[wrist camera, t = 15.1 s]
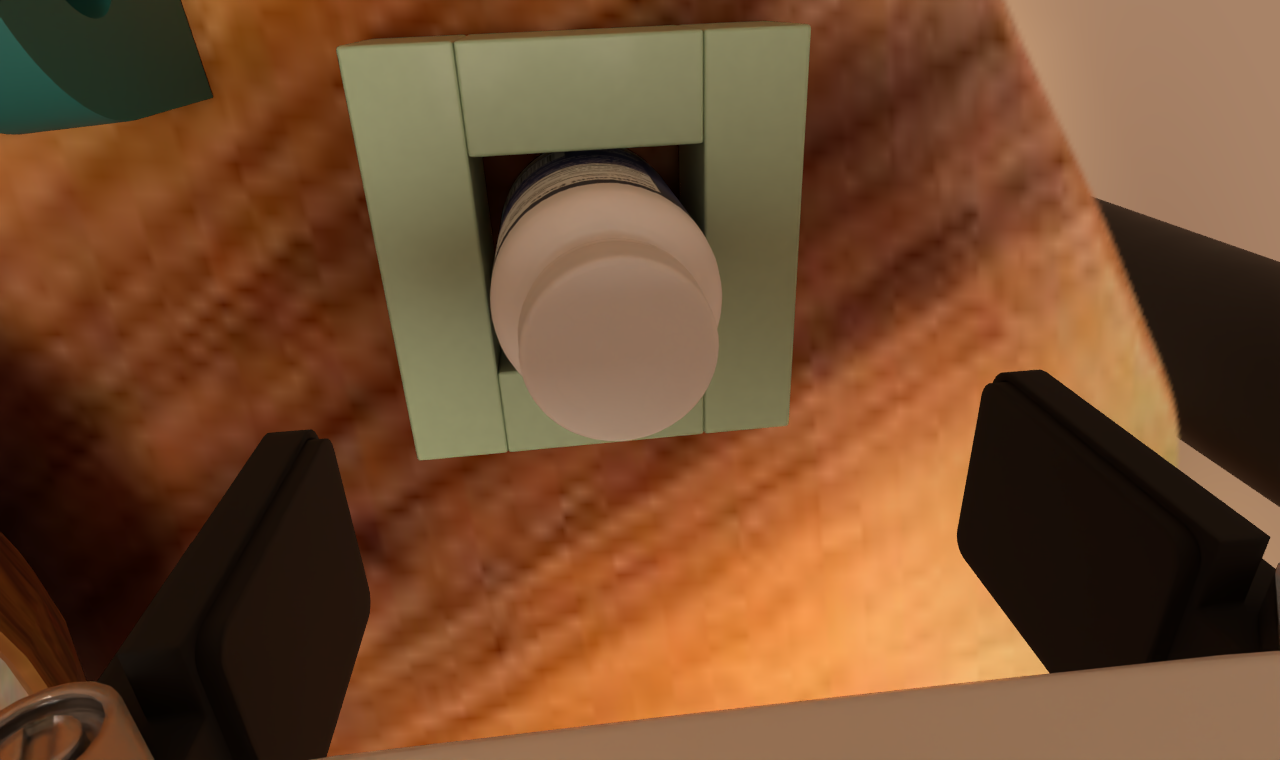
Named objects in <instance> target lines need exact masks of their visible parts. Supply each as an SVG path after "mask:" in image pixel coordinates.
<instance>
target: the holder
mask: <svg viewBox="0 0 1280 760" xmlns="http://www.w3.org/2000/svg"><path fill="white" fill-rule="evenodd" d="M810 36H811V27H810V25H808V24H799V23H786V22H773V21H751V22H729V23H707V24H685V25H679V26H677V25H664V26H642V27H620V28H598V29H576V30H554V31H532V32H510V33H489V34H470V35H468V36H466V35H445V36H423V37H401V38H379V39H369V40H365V41H360V42H355V43H350V44H346V45H341V46H338V47H337V50H336V51H337V56H338V61H339V67H340V72H341V77H342V82H343V87H344V92H345V97H346V102H347V107H348V112H349V117H350V122H351V127H352V132H353V137H354V142H355V147H356V152H357V157H358V162H359V167H360V172H361V177H362V182H363V187H364V192H365V197H366V202H367V207H368V212H369V217H370V222H371V227H372V232H373V237H374V242H375V247H376V252H377V257H378V262H379V267H380V272H381V277H382V282H383V287H384V292H385V298H386V303H387V308H388V313H389V318H390V323H391V328H392V333H393V338H394V343H395V348H396V353H397V358H398V363H399V368H400V373H401V378H402V383H403V388H404V393H405V398H406V403H407V408H408V413H409V418H410V423H411V428H412V433H413V438H414V443H415V448H416V453H417V458H418V459H419V460H430V459H441V458H451V457H462V456H472V455H483V454H494V453H504V452H507V451H508V450H509V451H510V452H514V451H525V450H535V449H546V448H557V447H567V446H578V445H588V444H599V443H609V442H620V441H604V440H596V439H591V438H588V437H584V436H581V435H578V434H575V433H573V432H571V431H569V430H567V429H565V428H563V427H562V426H560V425H559V424H557V423H556V422H554V421H553V420H552V419H551V418H549V417H548V416H547V415H546V414H545V413H544V412H543V411H542V410H541V408H540V407H539V406H538V405H537V404H536V402H535V401H534V400H533V398H532V396H531V395H530V393H529V391H528V389H527V387H526V385H525V383H524V380H523V377H522V376H521V375H520V374H519V373H518V371H517V370H516V369H515V367H514V366H513V365H512V364H511V362H510V361H509V360H508V358H507V356H506V355H505V353H504V351H503V349H502V347H501V345H500V343H499V340H498V337H497V334H496V332H495V328H494V324H493V321H492V315H491V308H490V288H491V279H492V270H493V264H494V259H495V252H494V244H493V236H492V228H491V221H490V213H489V205H488V197H487V189H486V181H485V173H484V166H483V158H482V157H484V156H501V155H518V154H534V153H551V152H568V151H584V150H601V149H618V148H634V147H651V146H668V145H679V186H680V203H681V204H682V205H683V207H684V208H685V209H686V211H687V212H688V213H689V215H690V216H691V217H692V219H693V220H694V221H695V223H696V224H697V225H698V227H699V228H700V230H701V231H702V233H703V234H704V236H705V238H706V239H707V241H708V243H709V245H710V247H711V249H712V252H713V254H714V256H715V258H716V262H717V265H718V270H719V275H720V280H721V287H722V306H721V315H720V320H719V324H718V328H717V331H718V336H719V351H718V359H717V364H716V368H715V372H714V374H713V377H712V379H711V382H710V384H709V386H708V388H707V390H706V391H705V393H704V395H703V396H702V397H701V399H700V400H699V401H698V403H697V404H696V405H695V406H694V407H693V408H692V409H691V410H690V411H689V412H688V413H687V414H686V415H685V416H684V417H683V418H681V419H680V420H678V421H677V422H675V423H674V424H673V425H671V426H669V427H667V428H665V429H663V430H662V431H660V432H657V433H655V434H652V435H650V436H646V437H642V438H638V439H633V440H641V439H652V438H662V437H673V436H683V435H694V434H702V433H703V431H704V432H705V433H715V432H726V431H736V430H747V429H757V428H768V427H778V426H787V425H788V423H789V406H790V388H791V371H792V353H793V335H794V318H795V300H796V283H797V265H798V247H799V230H800V212H801V194H802V177H803V159H804V142H805V124H806V106H807V89H808V71H809V54H810ZM626 441H630V440H626Z"/></svg>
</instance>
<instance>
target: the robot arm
mask: <svg viewBox="0 0 1280 760" xmlns="http://www.w3.org/2000/svg"><path fill="white" fill-rule="evenodd" d="M1269 539H1270V536H1268V535H1267V534H1265V533H1264V532H1263V531H1262V530H1260V529H1259V528H1257V527H1256V526H1255V525H1253V524H1252V523H1251V522H1249V521H1248V520H1247V519H1245V518H1244V517H1243V516H1241V515H1240V514H1238V513H1237V512H1236V511H1234V510H1233V509H1232V508H1230V507H1229V506H1228V505H1226V504H1225V503H1224V502H1222V501H1221V500H1219V499H1218V498H1217V497H1215V496H1214V495H1213V494H1211V493H1210V492H1209V491H1207V490H1206V489H1205V488H1203V487H1202V486H1200V485H1199V484H1198V483H1196V482H1195V481H1194V480H1192V479H1191V478H1190V477H1188V476H1187V475H1185V474H1184V473H1183V472H1181V471H1180V470H1179V469H1177V468H1176V467H1175V466H1173V465H1172V464H1171V463H1169V462H1168V461H1166V460H1165V459H1164V458H1162V457H1161V456H1160V455H1158V454H1157V453H1156V452H1154V451H1153V450H1152V449H1150V448H1149V447H1147V446H1146V445H1145V444H1143V443H1142V442H1141V441H1139V440H1138V439H1137V438H1135V437H1134V436H1133V435H1131V434H1130V433H1128V432H1127V431H1126V430H1124V429H1123V428H1122V427H1120V426H1119V425H1118V424H1116V423H1115V422H1113V421H1112V420H1111V419H1109V418H1108V417H1107V416H1105V415H1104V414H1103V413H1101V412H1100V411H1099V410H1097V409H1096V408H1094V407H1093V406H1092V405H1090V404H1089V403H1088V402H1086V401H1085V400H1084V399H1082V398H1081V397H1080V396H1078V395H1077V394H1075V393H1074V392H1073V391H1071V390H1070V389H1069V388H1067V387H1066V386H1065V385H1063V384H1062V383H1061V382H1059V381H1058V380H1056V379H1055V378H1054V377H1052V376H1051V375H1050V374H1048V373H1047V372H1045V371H1043V370H1029V371H1017V372H1005V373H1000V374H999V375H997V376H996V378H995V379H994V381H993V383H989V384H988V385H986V386H985V388H984V389H983V392H982V396H981V402H980V407H979V413H978V419H977V424H976V430H975V435H974V441H973V446H972V452H971V457H970V463H969V469H968V474H967V480H966V485H965V491H964V496H963V502H962V507H961V513H960V519H959V524H958V530H957V542H958V546H959V550H960V552H961V554H962V556H963V558H964V559H965V561H966V562H967V563H968V565H969V566H970V567H971V569H972V570H973V571H974V573H975V574H976V575H977V577H978V578H979V579H980V581H981V582H982V583H983V585H984V586H985V587H986V589H987V590H988V591H989V593H990V594H991V595H992V597H993V598H994V599H995V601H996V602H997V603H998V605H999V606H1000V607H1001V609H1002V610H1003V611H1004V613H1005V614H1006V615H1007V617H1008V618H1009V619H1010V621H1011V622H1012V623H1013V625H1014V626H1015V627H1016V629H1017V630H1018V631H1019V633H1020V634H1021V635H1022V637H1023V638H1024V639H1025V641H1026V642H1027V643H1028V645H1029V646H1030V647H1031V649H1032V650H1033V651H1034V653H1035V654H1036V655H1037V657H1038V658H1039V659H1040V661H1041V662H1042V663H1043V665H1044V666H1045V668H1046V669H1047V670H1048V672H1049V673H1050V674H1042V675H1032V676H1023V677H1014V678H1005V679H995V680H986V681H977V682H968V683H959V684H950V685H941V686H931V687H922V688H913V689H904V690H895V691H887V692H878V693H869V694H860V695H851V696H842V697H833V698H824V699H815V700H806V701H798V702H789V703H780V704H771V705H763V706H754V707H745V708H736V709H728V710H719V711H710V712H701V713H693V714H684V715H675V716H666V717H658V718H649V719H641V720H633V721H624V722H616V723H607V724H599V725H590V726H582V727H573V728H565V729H557V730H548V731H540V732H531V733H523V734H515V735H506V736H498V737H489V738H481V739H473V740H464V741H456V742H447V743H439V744H430V745H422V746H414V747H405V748H397V749H388V750H380V751H372V752H363V753H355V754H346V755H339V756H332V757H326V756H327V753H328V750H329V746H330V743H331V740H332V737H333V733H334V730H335V727H336V723H337V720H338V717H339V713H340V710H341V707H342V704H343V700H344V697H345V694H346V690H347V687H348V684H349V681H350V677H351V674H352V671H353V667H354V664H355V661H356V657H357V654H358V651H359V648H360V644H361V641H362V638H363V634H364V631H365V628H366V624H367V621H368V618H369V613H370V592H369V587H368V583H367V579H366V575H365V571H364V567H363V563H362V559H361V555H360V551H359V547H358V543H357V539H356V535H355V531H354V527H353V523H352V519H351V515H350V511H349V508H348V504H347V500H346V496H345V492H344V488H343V484H342V480H341V476H340V472H339V468H338V464H337V460H336V456H335V452H334V448H333V445H332V443H331V441H330V440H329V439H318V436H317V435H316V433H315V432H314V431H313V430H299V431H287V432H275V433H267V434H266V435H265V436H264V437H263V439H262V440H261V442H260V443H259V445H258V446H257V448H256V449H255V451H254V452H253V453H252V455H251V456H250V458H249V459H248V461H247V462H246V464H245V465H244V467H243V468H242V470H241V471H240V473H239V474H238V476H237V477H236V479H235V480H234V482H233V483H232V484H231V486H230V487H229V489H228V490H227V492H226V493H225V495H224V496H223V498H222V499H221V501H220V502H219V504H218V505H217V507H216V508H215V510H214V511H213V513H212V514H211V516H210V517H209V518H208V520H207V521H206V523H205V524H204V526H203V527H202V529H201V530H200V532H199V533H198V535H197V536H196V538H195V539H194V541H193V542H192V543H191V544H190V545H189V547H188V548H187V550H186V551H185V553H184V554H183V556H182V557H181V559H180V560H179V562H178V563H177V565H176V566H175V568H174V569H173V571H172V572H171V574H170V575H169V576H168V578H167V579H166V581H165V582H164V584H163V585H162V587H161V588H160V590H159V591H158V593H157V594H156V596H155V597H154V599H153V600H152V602H151V603H150V604H149V606H148V607H147V609H146V610H145V612H144V613H143V615H142V616H141V618H140V619H139V621H138V622H137V624H136V625H135V627H134V628H133V630H132V631H131V632H130V634H129V635H128V637H127V638H126V640H125V641H124V643H123V644H122V646H121V647H120V649H119V650H118V652H117V653H116V655H115V656H114V658H113V659H112V661H111V662H110V663H109V665H108V666H107V668H106V669H105V671H104V672H103V674H102V675H101V677H100V678H99V680H98V681H97V682H95V681H88V682H70V683H66V684H62V685H58V686H54V687H50V688H46V689H43V690H41V691H39V692H36V693H34V694H31V695H29V696H27V697H24V698H22V699H20V700H17V701H16V702H14V703H12V704H11V705H9V706H7V707H5V708H4V709H2V710H0V760H1280V563H1279V564H1278V565H1277V568H1276V569H1275V568H1274V567H1272V566H1271V565H1270V564H1268V563H1267V562H1266V561H1265V560H1263V559H1262V557H1263V554H1264V552H1265V549H1266V547H1267V544H1268V542H1269Z"/></svg>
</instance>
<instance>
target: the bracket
mask: <svg viewBox="0 0 1280 760" xmlns="http://www.w3.org/2000/svg"><path fill="white" fill-rule="evenodd" d="M210 98H213V95H212V93H211V90H210V87H209V84H208V81H207V78H206V75H205V72H204V69H203V66H202V63H201V60H200V57H199V54H198V51H197V48H196V45H195V42H194V39H193V36H192V33H191V30H190V27H189V24H188V21H187V18H186V15H185V12H184V10H183V7H182V4H181V1H180V0H0V133H4V134H26V133H35V132H43V131H51V130H60V129H68V128H76V127H85V126H93V125H101V124H110V123H118V122H126V121H133V120H137V119H141V118H144V117H148V116H151V115H155V114H158V113H161V112H165V111H168V110H172V109H175V108H179V107H182V106H186V105H189V104H192V103H196V102H199V101H203V100H206V99H210Z"/></svg>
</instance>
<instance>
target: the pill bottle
mask: <svg viewBox="0 0 1280 760" xmlns="http://www.w3.org/2000/svg"><path fill="white" fill-rule="evenodd" d="M721 306H722V287H721V280H720V275H719V270H718V265H717V262H716V258H715V256H714V254H713V252H712V249H711V247H710V245H709V243H708V241H707V239H706V238H705V236H704V234H703V233H702V231H701V230H700V228H699V227H698V225H697V224H696V223H695V221H694V220H693V219H692V217H691V216H690V215H689V213H688V212H687V211H686V209H685V208H684V207H683V205H682V204H681V203H680V201H679V200H678V199H677V197H676V196H675V195H674V193H673V192H672V191H671V189H670V188H669V187H668V185H667V184H666V183H665V182H664V180H663V179H662V178H661V176H660V175H659V174H658V173H657V172H656V171H655V170H654V169H653V168H652V167H651V166H650V165H649V164H648V163H647V162H646V161H645V160H643V159H642V158H641V157H639V156H638V155H636V154H635V153H633V152H631V151H629V150H627V149H625V148H618V149H601V150H584V151H568V152H551V153H544V154H542V155H540V156H539V157H538V158H536V159H535V160H534V161H532V162H531V163H530V164H529V165H528V166H527V167H526V168H525V169H524V170H523V171H522V172H521V174H520V175H519V176H518V177H517V179H516V180H515V182H514V184H513V185H512V187H511V189H510V191H509V193H508V196H507V198H506V201H505V204H504V207H503V211H502V216H501V223H500V229H499V236H498V241H497V246H496V254H495V259H494V264H493V270H492V279H491V288H490V308H491V315H492V321H493V324H494V328H495V332H496V334H497V337H498V340H499V343H500V345H501V347H502V349H503V351H504V353H505V355H506V356H507V358H508V360H509V361H510V362H511V364H512V365H513V366H514V367H515V369H516V370H517V371H518V373H519V374H520V375H521V376H522V377H523V380H524V383H525V385H526V387H527V389H528V391H529V393H530V395H531V396H532V398H533V400H534V401H535V402H536V404H537V405H538V406H539V407H540V408H541V410H542V411H543V412H544V413H545V414H546V415H547V416H548V417H549V418H551V419H552V420H553V421H554V422H556V423H557V424H559V425H560V426H562V427H563V428H565V429H567V430H569V431H571V432H573V433H575V434H578V435H581V436H584V437H588V438H591V439H596V440H604V441H626V440H633V439H638V438H642V437H646V436H650V435H652V434H655V433H657V432H660V431H662V430H663V429H665V428H667V427H669V426H671V425H673V424H674V423H675V422H677V421H678V420H680V419H681V418H683V417H684V416H685V415H686V414H687V413H688V412H689V411H690V410H691V409H692V408H693V407H694V406H695V405H696V404H697V403H698V401H699V400H700V399H701V397H702V396H703V395H704V393H705V391H706V390H707V388H708V386H709V384H710V382H711V379H712V377H713V374H714V372H715V368H716V364H717V359H718V351H719V336H718V331H717V328H718V324H719V320H720V315H721Z"/></svg>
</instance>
